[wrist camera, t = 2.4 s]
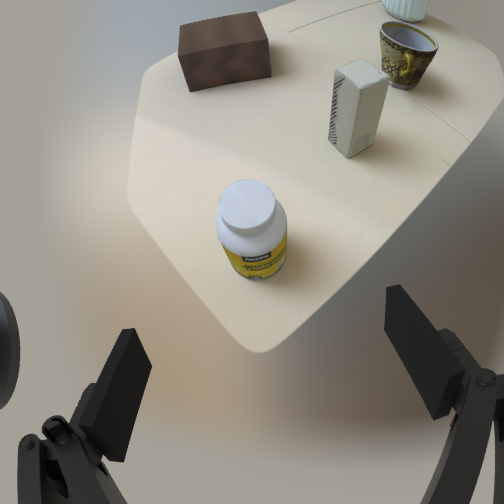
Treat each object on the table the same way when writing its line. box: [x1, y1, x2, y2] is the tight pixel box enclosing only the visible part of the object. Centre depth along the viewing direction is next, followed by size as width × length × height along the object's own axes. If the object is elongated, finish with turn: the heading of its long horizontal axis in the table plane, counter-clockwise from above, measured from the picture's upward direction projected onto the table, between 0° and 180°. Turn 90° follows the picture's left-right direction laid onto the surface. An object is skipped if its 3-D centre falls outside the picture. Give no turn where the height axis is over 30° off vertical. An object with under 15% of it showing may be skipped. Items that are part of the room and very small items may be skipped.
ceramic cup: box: [380, 21, 438, 90], centre depth 40 cm, size 13×10×10 cm
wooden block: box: [178, 12, 271, 92], centre depth 46 cm, size 14×12×8 cm
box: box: [328, 58, 390, 158], centre depth 35 cm, size 5×4×13 cm
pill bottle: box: [216, 179, 287, 280], centre depth 31 cm, size 6×6×12 cm
